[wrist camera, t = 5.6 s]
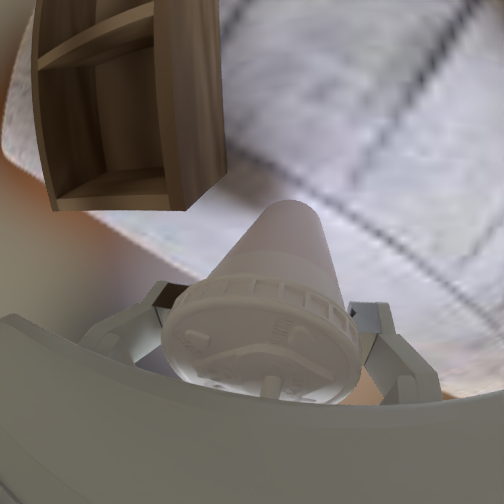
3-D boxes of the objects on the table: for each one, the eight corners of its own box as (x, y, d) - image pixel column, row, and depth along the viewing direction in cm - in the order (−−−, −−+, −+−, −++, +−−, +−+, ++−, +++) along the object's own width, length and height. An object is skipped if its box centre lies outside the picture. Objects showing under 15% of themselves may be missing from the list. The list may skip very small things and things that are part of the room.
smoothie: (345, 274, 16) (340, 523, 5) (246, 276, 18) (159, 491, 7) (343, 172, 13) (396, 511, 2) (225, 181, 15) (35, 414, 3)
